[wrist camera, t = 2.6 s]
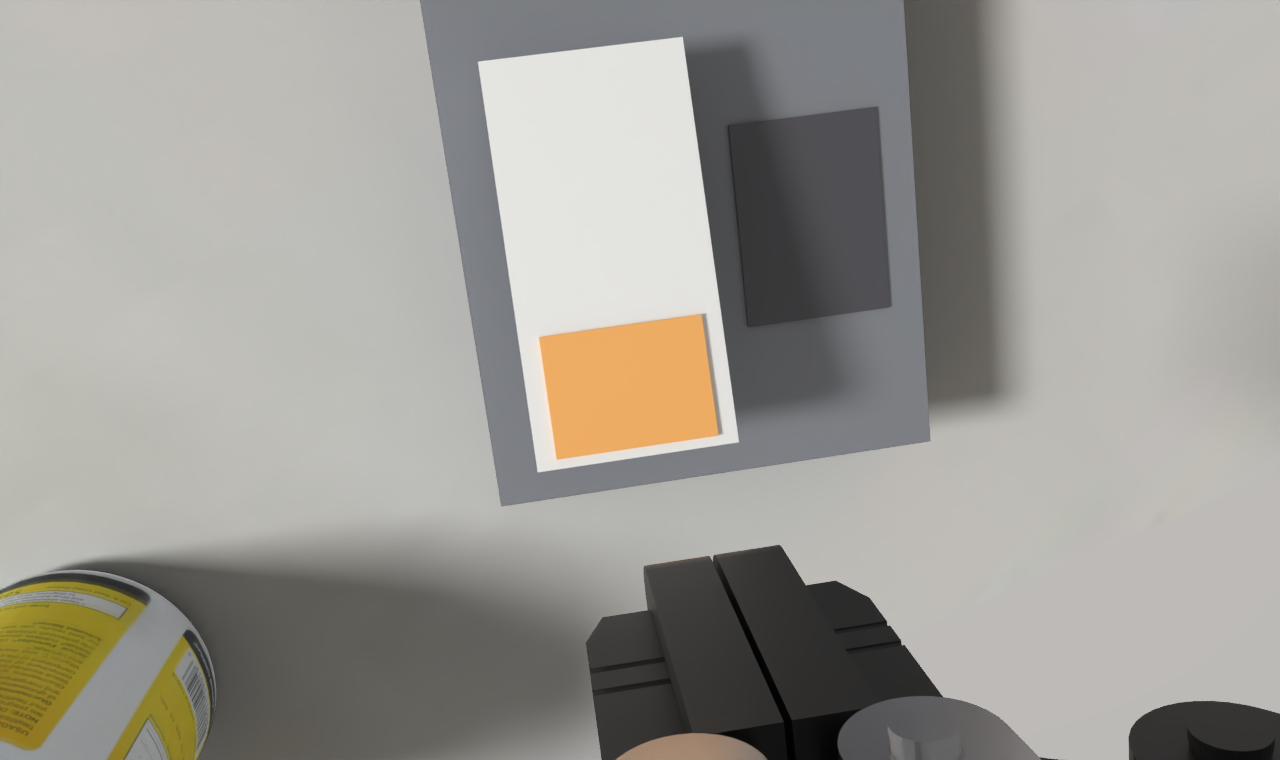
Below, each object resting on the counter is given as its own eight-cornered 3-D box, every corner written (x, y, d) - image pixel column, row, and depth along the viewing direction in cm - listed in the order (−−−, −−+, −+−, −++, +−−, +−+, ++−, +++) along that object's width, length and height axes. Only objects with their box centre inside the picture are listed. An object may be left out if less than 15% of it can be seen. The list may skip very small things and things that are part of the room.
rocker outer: (481, 77, 23) (477, 60, 21) (675, 52, 23) (683, 35, 22) (538, 466, 23) (537, 473, 22) (729, 437, 23) (739, 442, 22)
